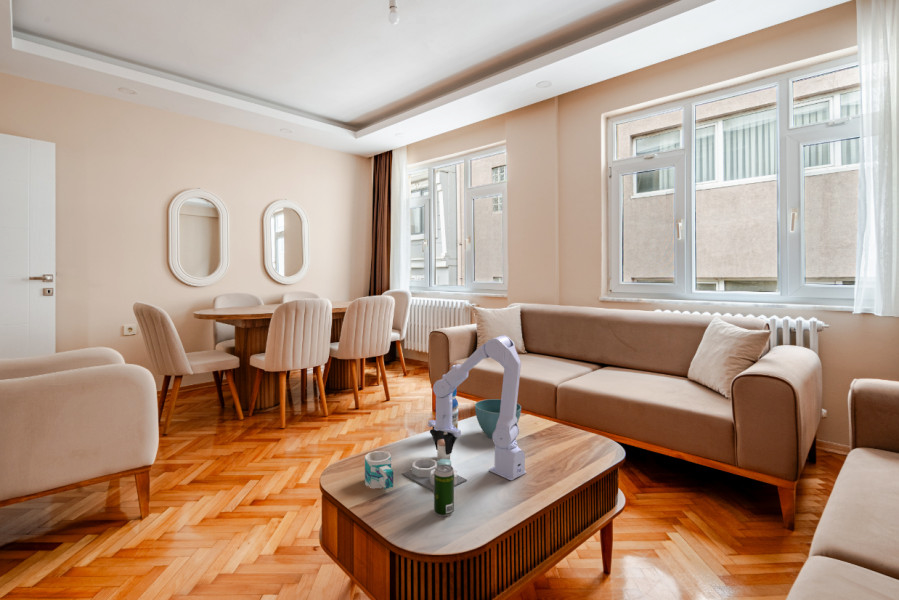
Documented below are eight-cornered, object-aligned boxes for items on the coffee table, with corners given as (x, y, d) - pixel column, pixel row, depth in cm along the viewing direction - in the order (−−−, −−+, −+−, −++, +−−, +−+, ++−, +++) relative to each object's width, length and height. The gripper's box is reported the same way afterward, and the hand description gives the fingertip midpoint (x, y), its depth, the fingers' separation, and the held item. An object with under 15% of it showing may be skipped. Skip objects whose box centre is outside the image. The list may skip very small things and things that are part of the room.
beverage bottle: (449, 432, 175) (449, 383, 174) (462, 438, 168) (463, 388, 167) (432, 436, 170) (432, 386, 169) (445, 443, 163) (445, 391, 162)
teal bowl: (499, 424, 184) (500, 396, 183) (530, 438, 169) (530, 407, 168) (465, 433, 174) (465, 403, 173) (494, 448, 159) (495, 415, 158)
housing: (466, 481, 134) (466, 471, 133) (437, 494, 125) (437, 484, 125) (430, 463, 146) (430, 454, 146) (402, 474, 138) (402, 465, 138)
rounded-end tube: (452, 458, 150) (453, 441, 150) (443, 462, 147) (443, 445, 147) (444, 454, 153) (444, 437, 153) (434, 458, 150) (434, 441, 150)
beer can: (457, 511, 116) (458, 468, 116) (444, 519, 112) (444, 475, 112) (443, 504, 120) (443, 462, 119) (429, 512, 116) (429, 468, 115)
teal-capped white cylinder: (454, 481, 132) (454, 462, 132) (443, 486, 129) (443, 466, 129) (444, 476, 136) (444, 457, 135) (433, 480, 132) (433, 461, 132)
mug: (384, 473, 138) (384, 448, 138) (401, 489, 128) (401, 462, 128) (360, 480, 134) (360, 454, 133) (376, 497, 124) (376, 469, 123)
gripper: (421, 410, 152) (421, 448, 152) (450, 421, 141) (449, 461, 142) (436, 406, 156) (436, 443, 157) (465, 416, 146) (464, 455, 147)
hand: (443, 451), depth 150 cm, fingers closed on rounded-end tube, 4 cm apart
